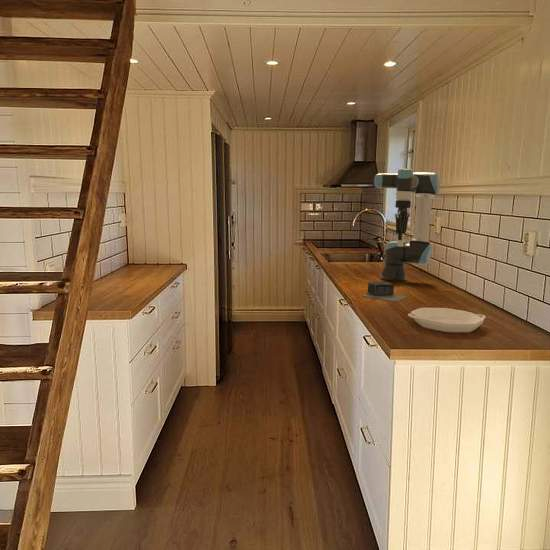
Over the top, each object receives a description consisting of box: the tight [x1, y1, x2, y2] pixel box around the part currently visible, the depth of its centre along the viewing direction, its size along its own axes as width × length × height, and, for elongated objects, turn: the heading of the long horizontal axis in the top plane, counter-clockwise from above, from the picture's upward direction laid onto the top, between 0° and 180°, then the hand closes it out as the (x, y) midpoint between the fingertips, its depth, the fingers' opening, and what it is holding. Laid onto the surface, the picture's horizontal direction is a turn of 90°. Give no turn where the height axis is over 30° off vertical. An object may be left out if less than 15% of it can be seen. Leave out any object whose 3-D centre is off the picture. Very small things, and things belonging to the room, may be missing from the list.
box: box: [367, 281, 395, 296], centre depth 244 cm, size 8×6×11 cm
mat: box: [362, 293, 408, 303], centre depth 239 cm, size 14×18×1 cm
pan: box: [407, 307, 487, 334], centre depth 189 cm, size 31×26×4 cm
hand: (400, 246), depth 247 cm, fingers closed
